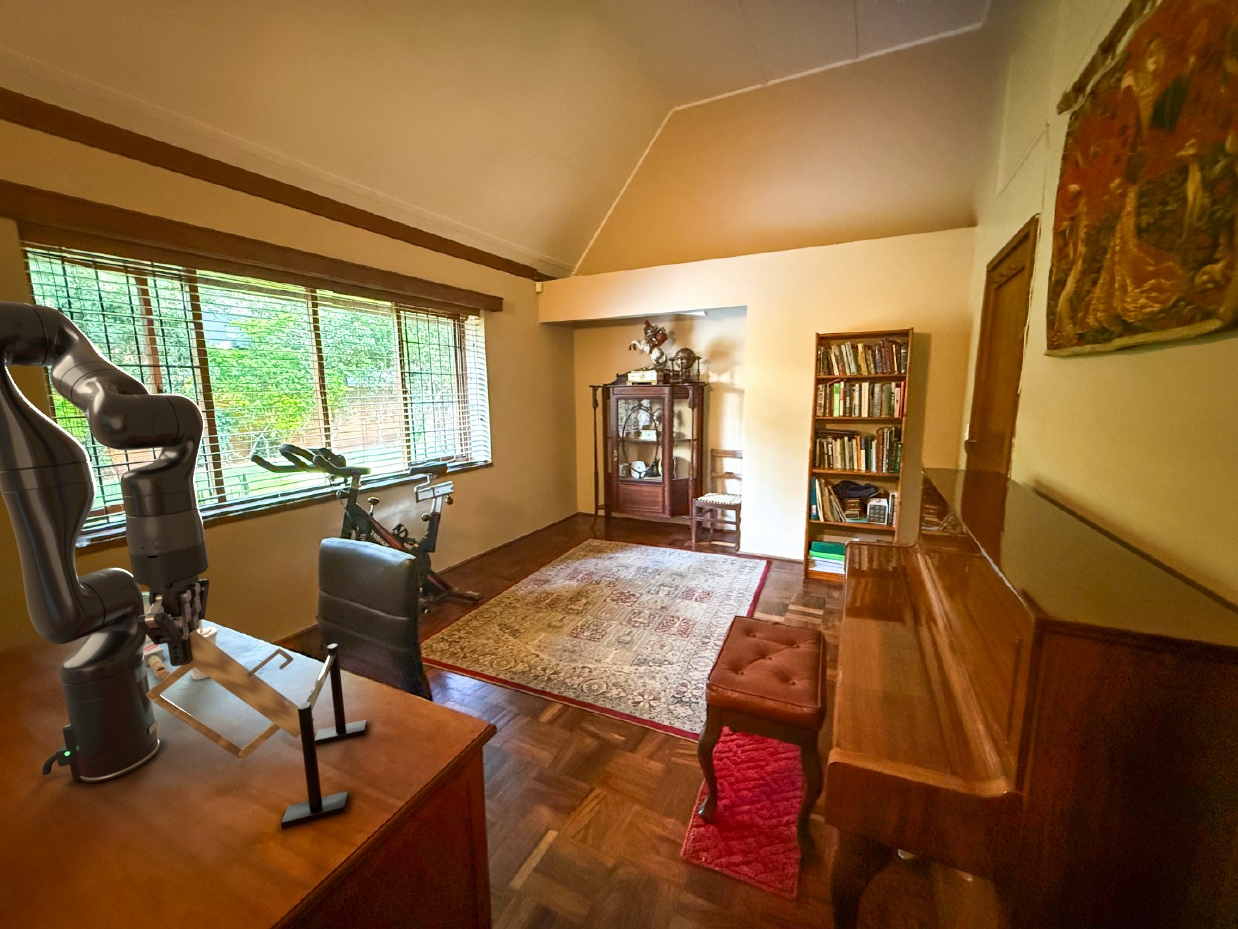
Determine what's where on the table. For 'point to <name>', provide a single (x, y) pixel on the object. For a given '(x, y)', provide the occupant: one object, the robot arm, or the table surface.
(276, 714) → the hanger
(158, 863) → the table surface
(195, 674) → the smoothie
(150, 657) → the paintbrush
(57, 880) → the table surface
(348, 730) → the rail stand
